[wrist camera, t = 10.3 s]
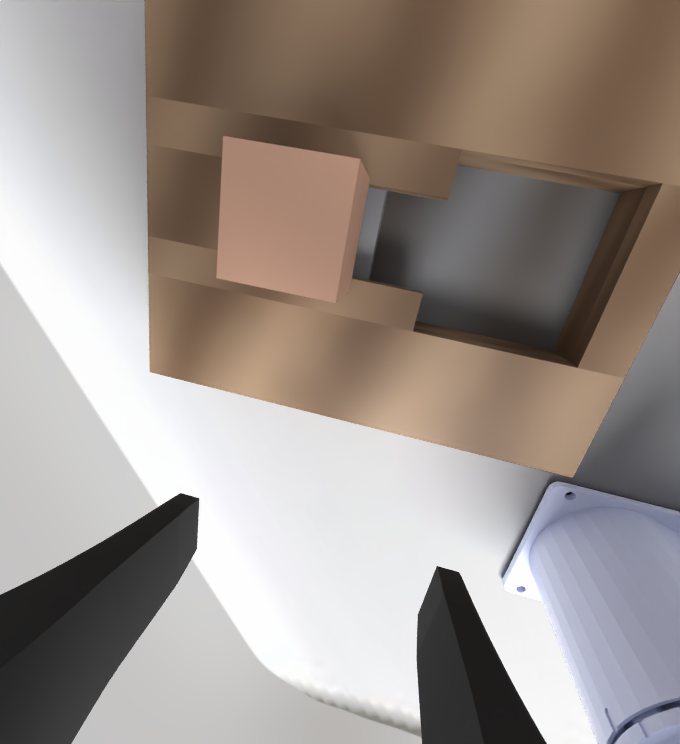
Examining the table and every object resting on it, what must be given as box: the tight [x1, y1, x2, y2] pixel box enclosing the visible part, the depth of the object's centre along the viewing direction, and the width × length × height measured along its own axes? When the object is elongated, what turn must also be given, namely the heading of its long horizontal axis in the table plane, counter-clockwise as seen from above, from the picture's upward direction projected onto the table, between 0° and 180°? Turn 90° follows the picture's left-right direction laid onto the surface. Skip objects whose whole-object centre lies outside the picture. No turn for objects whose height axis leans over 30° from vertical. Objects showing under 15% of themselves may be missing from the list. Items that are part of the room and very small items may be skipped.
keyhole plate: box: [145, 0, 680, 478], centre depth 15 cm, size 20×16×3 cm
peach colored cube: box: [216, 136, 388, 303], centre depth 13 cm, size 5×5×6 cm
